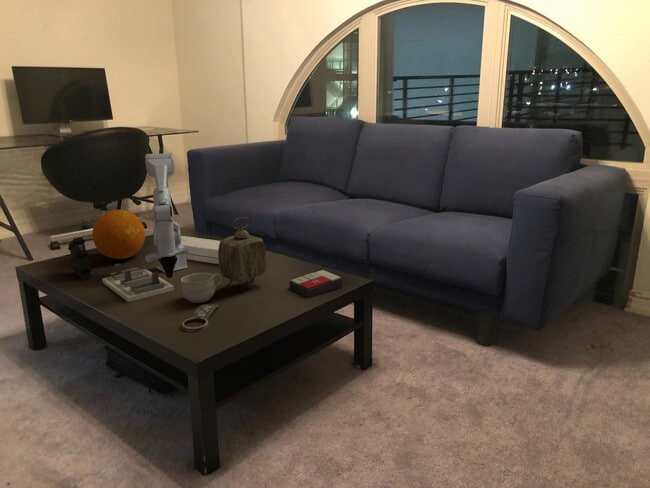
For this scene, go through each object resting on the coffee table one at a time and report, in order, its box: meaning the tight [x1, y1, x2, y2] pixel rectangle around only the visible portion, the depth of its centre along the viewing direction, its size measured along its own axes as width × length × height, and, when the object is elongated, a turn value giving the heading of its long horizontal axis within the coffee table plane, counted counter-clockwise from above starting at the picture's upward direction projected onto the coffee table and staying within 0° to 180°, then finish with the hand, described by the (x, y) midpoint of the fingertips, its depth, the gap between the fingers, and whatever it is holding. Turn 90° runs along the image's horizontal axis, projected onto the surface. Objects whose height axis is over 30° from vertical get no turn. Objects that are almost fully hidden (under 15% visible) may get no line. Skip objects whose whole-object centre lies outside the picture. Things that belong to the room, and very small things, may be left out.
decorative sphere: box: [91, 209, 146, 260], centre depth 221 cm, size 20×20×20 cm
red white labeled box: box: [289, 269, 343, 298], centre depth 189 cm, size 11×4×15 cm
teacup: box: [180, 272, 223, 304], centre depth 180 cm, size 14×11×8 cm
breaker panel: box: [101, 266, 175, 303], centre depth 192 cm, size 16×24×3 cm, turn 40°
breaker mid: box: [124, 269, 132, 282], centre depth 190 cm, size 2×2×5 cm
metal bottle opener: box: [181, 303, 221, 333], centre depth 166 cm, size 8×19×2 cm, turn 172°
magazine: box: [67, 236, 92, 281], centre depth 203 cm, size 4×13×15 cm, turn 39°
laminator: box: [181, 235, 221, 265], centre depth 224 cm, size 34×12×6 cm, turn 65°
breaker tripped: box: [151, 271, 159, 285], centre depth 187 cm, size 2×2×5 cm
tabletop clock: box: [218, 216, 267, 290], centre depth 187 cm, size 14×9×25 cm, turn 135°
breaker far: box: [114, 263, 123, 276], centre depth 196 cm, size 2×2×5 cm
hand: (169, 277), depth 190 cm, fingers closed
